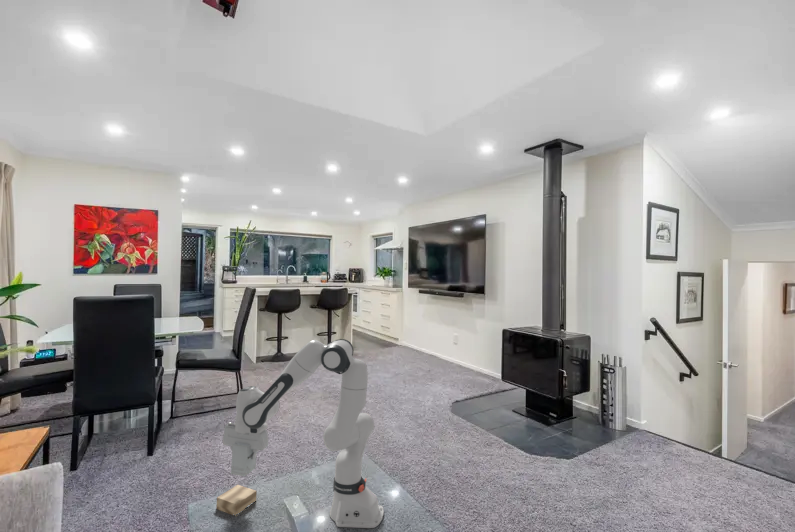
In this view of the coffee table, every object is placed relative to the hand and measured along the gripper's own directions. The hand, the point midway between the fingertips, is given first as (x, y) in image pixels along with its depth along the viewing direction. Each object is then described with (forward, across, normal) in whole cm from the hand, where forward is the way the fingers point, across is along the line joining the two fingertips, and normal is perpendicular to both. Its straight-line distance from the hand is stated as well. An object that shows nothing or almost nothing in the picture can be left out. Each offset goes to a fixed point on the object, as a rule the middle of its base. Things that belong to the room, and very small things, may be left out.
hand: (244, 457), depth 158 cm
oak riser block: (+20, -1, -2) cm, 20 cm away
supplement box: (+6, 0, 0) cm, 6 cm away
